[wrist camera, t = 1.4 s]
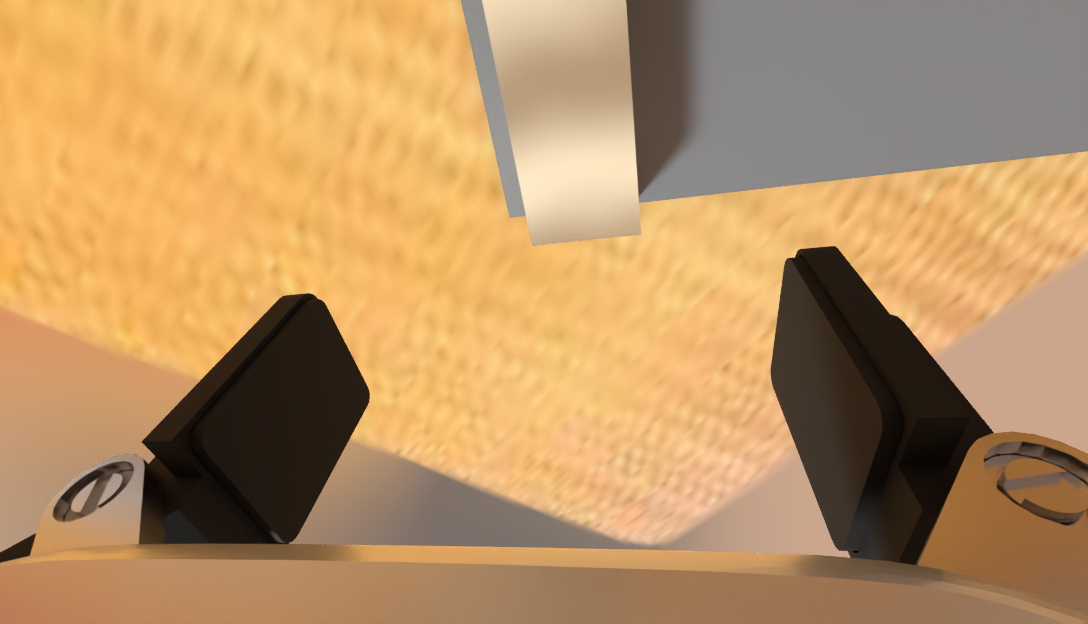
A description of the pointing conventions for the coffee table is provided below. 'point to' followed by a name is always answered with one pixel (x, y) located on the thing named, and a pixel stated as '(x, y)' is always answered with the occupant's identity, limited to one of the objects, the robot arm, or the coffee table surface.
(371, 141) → the coffee table surface
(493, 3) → the link
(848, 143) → the board
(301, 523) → the robot arm
